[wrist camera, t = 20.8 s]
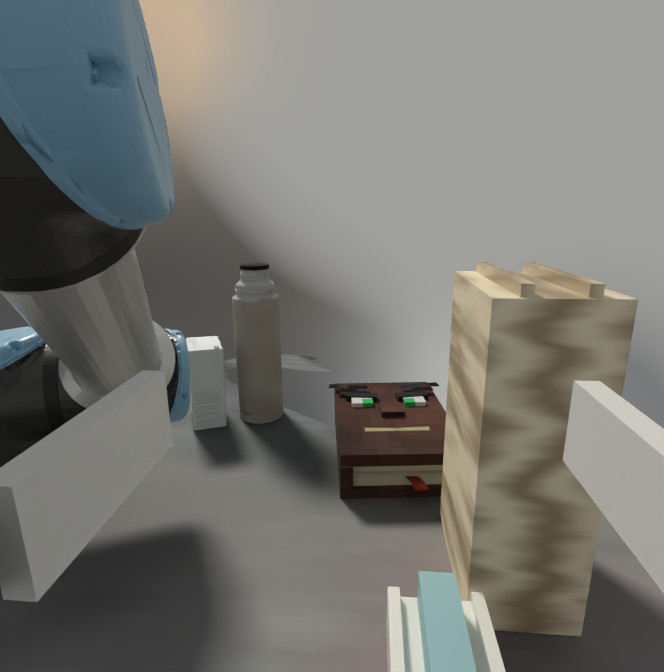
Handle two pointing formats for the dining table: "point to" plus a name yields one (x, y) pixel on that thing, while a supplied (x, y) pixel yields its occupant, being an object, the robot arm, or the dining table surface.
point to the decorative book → (389, 439)
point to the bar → (443, 624)
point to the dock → (406, 634)
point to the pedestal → (525, 439)
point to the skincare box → (207, 382)
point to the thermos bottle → (258, 345)
